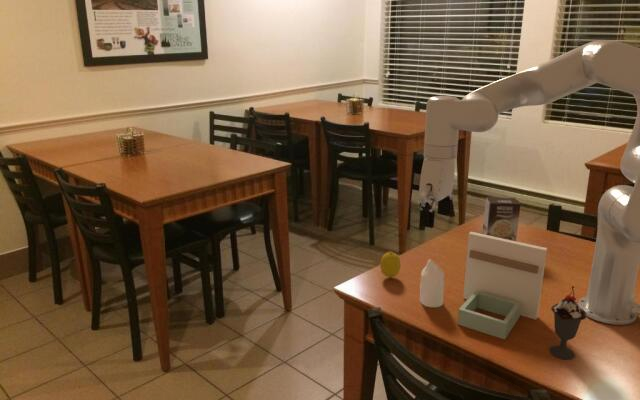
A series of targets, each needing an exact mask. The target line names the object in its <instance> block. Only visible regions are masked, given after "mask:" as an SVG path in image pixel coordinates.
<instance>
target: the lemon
mask: <svg viewBox="0 0 640 400" xmlns="http://www.w3.org/2000/svg"><path fill="white" fill-rule="evenodd" d="M400 259H401V258H400V257H399V255H398V254H396V253H395V252H393V251H392V250H391V251H388V252H385V253H384V254H383V256H382V257H381V259H380V264H379V265H380V272H381V273H382V274H383V275H384V276H385V277H387V278H389V279H392V278H393V277H396V276H398V274H399V272H400V270H401V260H400Z"/></svg>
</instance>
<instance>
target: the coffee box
mask: <svg viewBox="0 0 640 400" xmlns="http://www.w3.org/2000/svg"><path fill="white" fill-rule="evenodd" d="M520 211H521V202H520V201H519V200H518V199H516V197H502V196H501V197H500V196H499V197H498V196H486V197H485V205H484V215H483V221H482V222H483V225H482V231H481V234H484V235H489V236H493V237H498V238H503V239H507V240H512V241H516V242H517V236H518V235H517V234H518V227H519V219H520Z"/></svg>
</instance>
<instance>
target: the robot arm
mask: <svg viewBox="0 0 640 400" xmlns="http://www.w3.org/2000/svg"><path fill="white" fill-rule="evenodd" d="M595 84H600V85H603V86H606V87H609V88H612V89H615V90H617V91H620V92H623V93H627V94H630V95H632V96H633V97H634V99H635V103H636V107H637V113H636V117H635V122H634V125H633V127H632V128H633V129H632V130H631V134H630V136H629V138H628V141H627V144H626V147H625V149H624V151H623V155H622V156H621V159H620V164H619V167H620V171H621V173H622V174H623V176H624V177H625V178H626V179H627V180H628V181H630V182H631V183H633V184H634V186H631V185H625V184H620V185H619V184H617V185H614V186H612V187H610V188H609V189H607V190H606V191H605V192H604V193H603V194H602V195H601V197H600V200H599V202H598V207H597V229H596V230H597V233H596V239H595V240H596V241H595V246H594V252H593V258H592V263H591V269H590V276H589V281H588V288H587V294H586V295H585V296H583V297H580V299H579V300H578V305H579V306H580V308H581V309H583V310H584V311H585V312H586V317H588V318H590V319H592V320H594V321H597V322H600V323H604V324H607V325H608V324H609V325H614V326H625V325H626V326H627V325H629V324H633V323H634V322H635V321H636V320H637V316H640V303H638V302H636V301H635V298H636V296H635V295H634V293H635V287H636V282H637V278H638V273H639V268H640V47H637V46H634V45H631V44H628V43H625V42H621V41H618V40H607V39H606V40H605V39H597V40H592V41H590V42H588V43H587V42H586V43H585V44H583V45H580V46H578V47H576V48H574V49H571V50H569V51H567V52H564V53H563V54H560V55H558V56H556V57H553V58H552V59H548V60H547V61H545V62H542V63H540V64H538V65H535V66H533V67H530V68H528V69H525V70H523V71H519V72H518V73H514V74H512V75H509V76H506V77H504V78H501V79H499V80H496V81H493V82H492V83H489V84H487V85H484V86H482V87H479V88H478V89H476V90H473V91H472V92H470V93H468V94H466V95H465V96H464V97H462V98H461V99H459V97H455V96H450V95H435V96H434V95H433V96H432V97H431V96H430V97H429V99H428V100H427V102H426V109H425V124H424V125H425V128H424V142H423V143H424V144H423V162H422V167H421V172H420V180H419V188H418V199H419V202H420V203H419V206H420V223H419V225H420V226H421V227H425V228H430V229H433V228H434V227H435V226H434V225H435V217H436V215H435V214H436V213H435V210H434V209H435V206H436V203H437V214H438V215H442V216H446V217H450V216H451V211H452V200H453V191H454V185H455V172H456V171H455V167H456V165H455V161H456V160H457V157H458V149H459V148H458V146H459V133H460V131H467V132H471V133H472V132H473V133H483V132H487V131H490V130H492V129H493V128H494V127H495V125H496V124H497V122H498V121H499V115H500V114H503V113H505V112H507V111H510V110H513V109H517V108H522V107H529V106H530V107H531V106H542V105H547V104H551V103H553V102H555V101H558V100H560V99H563V98H564V97H567V96H569V95H572V94H574V93H576V92H579V91H581V90H584V89H585V88H588V87H590V86H591V87H592V86H593V85H595Z"/></svg>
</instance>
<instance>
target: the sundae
mask: <svg viewBox="0 0 640 400" xmlns="http://www.w3.org/2000/svg"><path fill="white" fill-rule="evenodd" d="M574 288H575V286H574V285H573V286H571V292H570V294H569V295H565V298H563V299H561V300H560V301H559V302H558V303H555V304H553V305H552V306H551V308H550V310H551V311H552V313H553V316H554V317H553V319H554V325H553V326H554V332H555V334H556V336H557V337H558V338H559V339H560V343H559V345H553V346H550V348H549V353H550V354H551V356H553V357H555V358H557V359H560V360H565V361H567V360H572V359H574V358H575V356H576V354H575V353H574V351H573V350H572V349H570V348H569V347H567V343H568V341H570V340H573V339H574V338H575V337H576V336H577V332H578V330H579V327H580V324H581V321H582V320H586V318H587V316H586V312H585V311H584V310H583V309H581V308H580V306H579V305H578V303H577V302H576V300H577V298H576V297H575V290H574ZM572 293H573V295H572ZM571 295H572V296H571Z"/></svg>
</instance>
